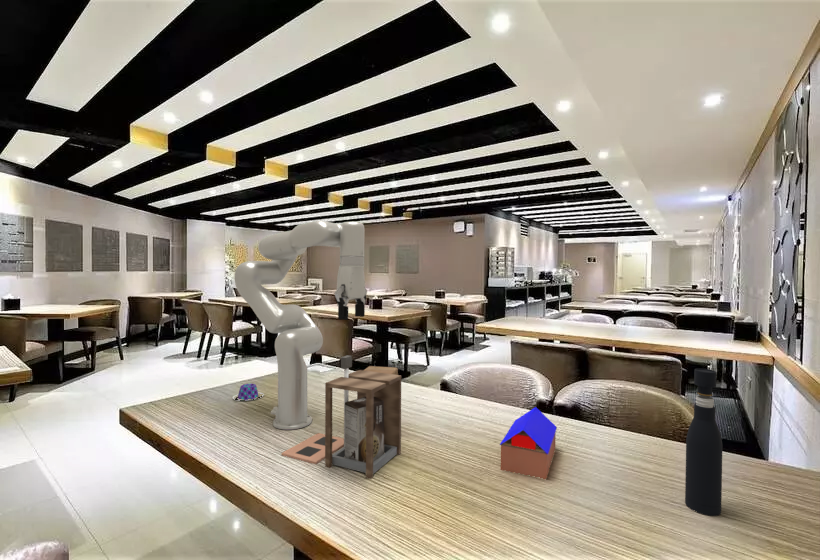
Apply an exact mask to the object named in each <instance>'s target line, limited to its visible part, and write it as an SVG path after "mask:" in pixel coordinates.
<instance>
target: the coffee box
mask: <svg viewBox="0 0 820 560" xmlns="http://www.w3.org/2000/svg"><path fill="white" fill-rule="evenodd" d="M383 454H385V453H384V400H381V399H379V398H376V397H374V416H373V462H375V461H376V460H377V459H378V458H380V457H381V456H382V455H383ZM344 458H348V459H352V460H356V461H360V462H365V463H366V397H362V398H359V399H357V398H356V399H352V400H348V402H345V457H344Z"/></svg>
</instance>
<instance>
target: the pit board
mask: <svg viewBox="0 0 820 560" xmlns="http://www.w3.org/2000/svg"><path fill="white" fill-rule="evenodd" d="M343 447H344V437H339V436H334V435H332V455H333V454H334V453H336V452H337V451H339V450H340V449H342V448H343ZM280 453H281V456H284V457H286V456H287V458H290V457H291V458H290V459H295V460H298V461H302V462H305V463H309V464H313V465H317V464H319V463H321V462H322V461H323V460H325V433H320V432H317V433H315V434H313V435H312V436H310V437H308V438H306V439H304V440H303V441H301V442H299V443H298V444H296V445H294V446H292V447H289V448H288V449H286V450H285V451H283V452H280Z"/></svg>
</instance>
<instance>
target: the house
mask: <svg viewBox="0 0 820 560" xmlns="http://www.w3.org/2000/svg"><path fill="white" fill-rule="evenodd" d="M557 428H558V426H556V425H555V424H554V422H553V421H552V420H550V419H549V418H548V417H547V416H546V415H545V414H544V413H543V412H542V411H541V410H540V409H539V408H537V406H535V407H533V408H532V409H530V410H529V411H528V412H526V413H524V414H522V415H521V416H520V417H518V418H517V419H515V420H514V421H513V423H512V425H511V426H510V427H509V429H508V431H507V433H506V434H505V436H504V438H503V439H502V440H501V442H500V444H499V446H500V470H501V471H504V470H506V471H505V472H509V471H510V473H513V472H515V473H514V474H518V473H520V474H519V475H522V474H524V476H527V475H530V476H529V477H532V476H535V477H534V478H536V477H540V478H539V479H541V478H543V479H542V480H545V479H546V478H547V479H548V476H549V472H550V469H549V468H551V466H552V462H551V461H553V459H552V458H554V456H555V452H556V433H557ZM554 451H555V452H554ZM553 455H554V456H553ZM550 465H551V466H550ZM547 475H548V476H547ZM547 479H546V480H547Z"/></svg>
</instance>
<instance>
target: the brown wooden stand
mask: <svg viewBox="0 0 820 560" xmlns="http://www.w3.org/2000/svg"><path fill="white" fill-rule="evenodd" d="M324 385H325V386H324V387H325V393H324V394H325V395H324V396H325V397H324V399H325V401H324V402H325V404H324V408H325V409H324V412H325V414H324V416H325V417H324V419H325V420H324V423H325V424H324V425H325V427H324V430H325V431H324V432H325V433H324V434H325V459H324V467H326V468H328V469H330V468H332V467H333V464H332V455H333V454H332V436H333V389H338V390H343V391H344V390H349V392H351V391H352V392H356V393H357V394H356V395H357V396H356V397H357V398H356V399H359V398H362V397H366V473H365V478H367V479H371V480H372V479H373V478H374V474H373V416H374V397H376V398H379V399H381V400H384V444H386V445H390V446H395V447H397V454H396V455H398V456H399V455H401V454H402V375H399V374H398V375H394V374H386V373H379V372H371V371H364V369H357V370H355V371H353V372H349V378H346V377H344V376H339V377H337V378H335V379H332V380H329V381H327V382H325V384H324Z"/></svg>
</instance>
